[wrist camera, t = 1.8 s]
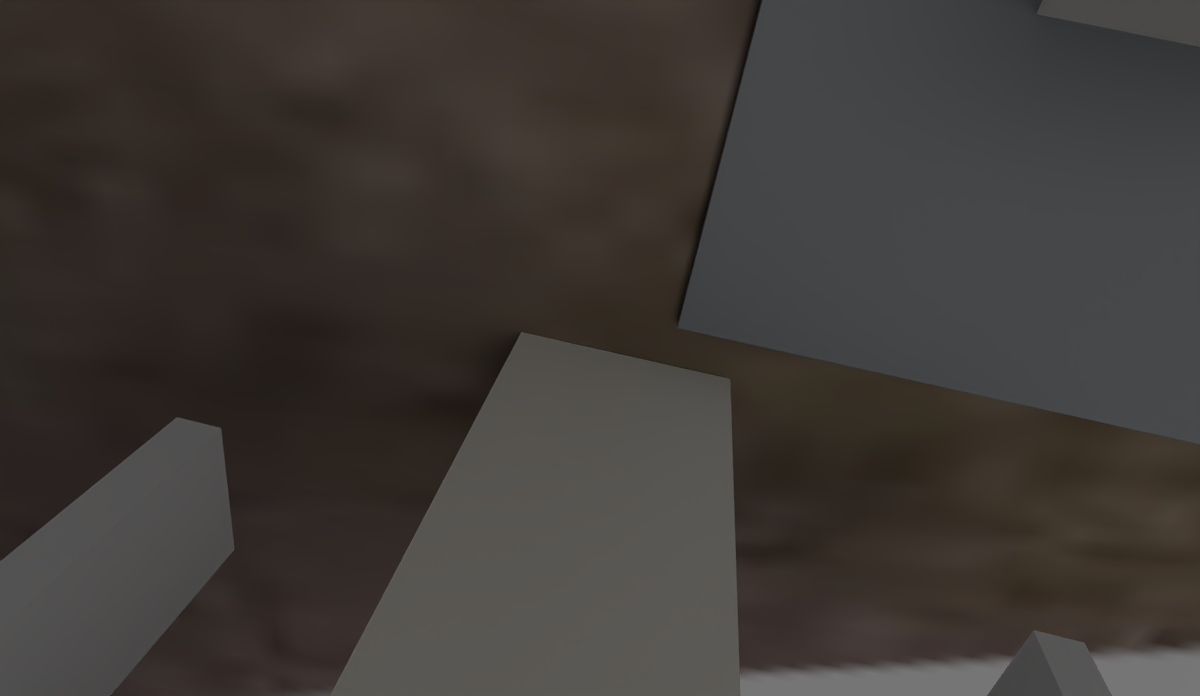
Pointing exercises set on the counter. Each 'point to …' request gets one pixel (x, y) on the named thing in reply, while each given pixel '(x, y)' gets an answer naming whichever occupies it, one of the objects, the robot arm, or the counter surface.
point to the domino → (1133, 16)
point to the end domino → (571, 542)
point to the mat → (965, 205)
